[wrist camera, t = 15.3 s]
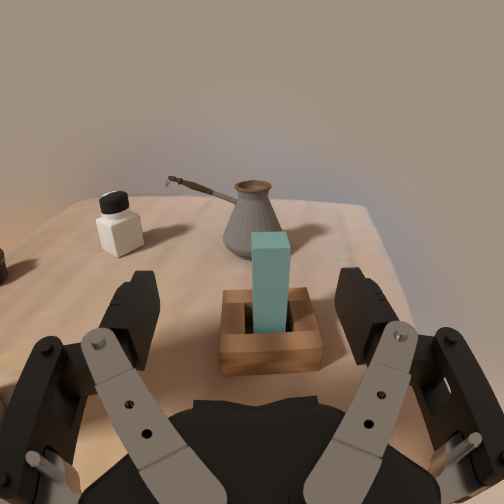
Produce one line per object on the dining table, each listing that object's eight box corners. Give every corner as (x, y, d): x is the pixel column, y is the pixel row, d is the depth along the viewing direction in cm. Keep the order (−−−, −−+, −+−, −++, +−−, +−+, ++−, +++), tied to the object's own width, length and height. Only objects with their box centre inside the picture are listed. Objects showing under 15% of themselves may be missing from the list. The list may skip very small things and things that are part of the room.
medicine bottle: (145, 245, 60) (136, 190, 54) (118, 259, 55) (105, 201, 49) (128, 237, 63) (118, 186, 58) (102, 249, 58) (90, 197, 53)
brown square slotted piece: (222, 375, 31) (218, 352, 29) (225, 313, 41) (223, 290, 39) (319, 370, 31) (324, 347, 29) (303, 310, 41) (306, 287, 39)
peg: (254, 351, 34) (252, 248, 28) (253, 331, 38) (251, 232, 31) (283, 349, 35) (290, 247, 28) (280, 329, 38) (285, 231, 31)
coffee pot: (282, 237, 62) (284, 166, 54) (285, 266, 52) (288, 182, 44) (182, 237, 63) (174, 168, 55) (166, 264, 53) (154, 184, 45)
